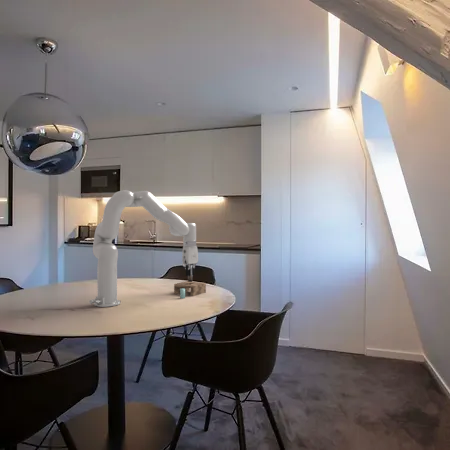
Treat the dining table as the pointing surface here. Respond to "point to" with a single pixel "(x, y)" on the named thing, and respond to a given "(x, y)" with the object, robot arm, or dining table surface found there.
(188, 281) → the long pin
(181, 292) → the short pin
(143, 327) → the dining table surface
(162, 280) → the dining table surface
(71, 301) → the dining table surface
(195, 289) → the bridge
